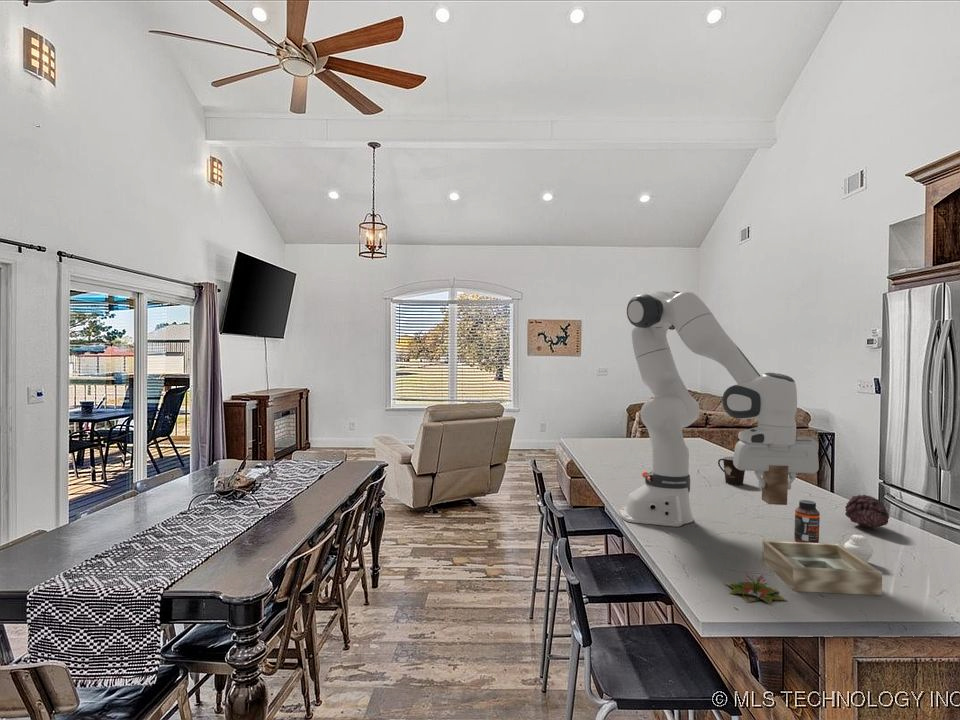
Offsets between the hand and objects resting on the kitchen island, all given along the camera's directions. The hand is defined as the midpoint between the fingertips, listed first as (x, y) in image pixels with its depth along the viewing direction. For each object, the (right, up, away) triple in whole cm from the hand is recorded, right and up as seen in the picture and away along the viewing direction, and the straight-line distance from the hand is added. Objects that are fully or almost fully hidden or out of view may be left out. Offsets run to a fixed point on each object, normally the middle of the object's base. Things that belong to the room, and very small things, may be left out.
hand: (774, 488), depth 145 cm
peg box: (+3, -18, -14) cm, 23 cm away
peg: (0, -4, 0) cm, 4 cm away
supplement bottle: (+14, -17, +10) cm, 24 cm away
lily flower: (-17, -18, -24) cm, 34 cm away
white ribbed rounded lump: (+19, -18, -5) cm, 26 cm away
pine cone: (+40, -17, +22) cm, 48 cm away
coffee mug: (+25, -16, +80) cm, 85 cm away
